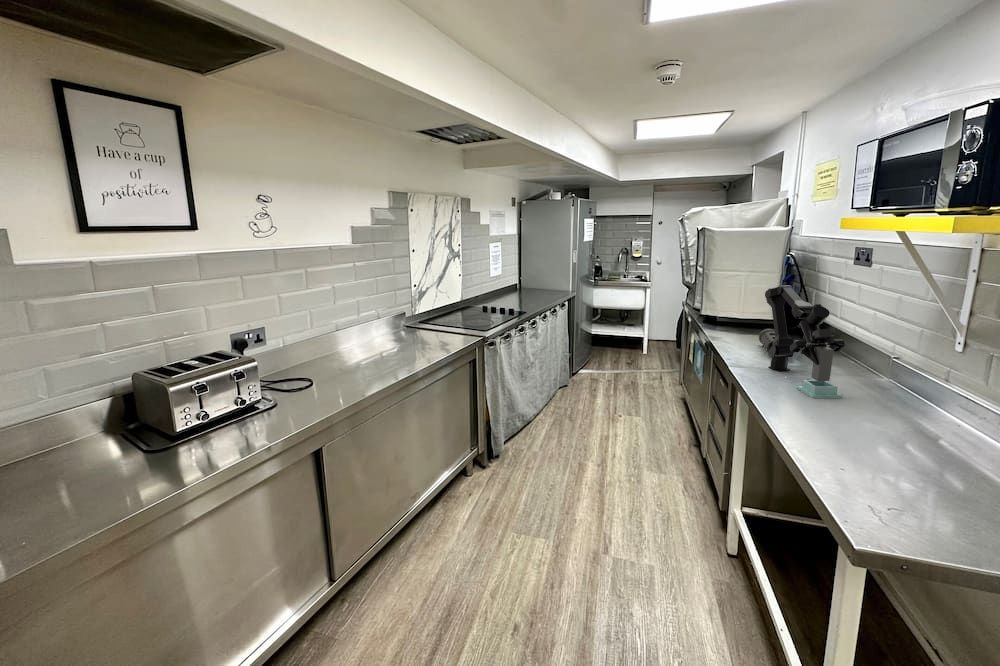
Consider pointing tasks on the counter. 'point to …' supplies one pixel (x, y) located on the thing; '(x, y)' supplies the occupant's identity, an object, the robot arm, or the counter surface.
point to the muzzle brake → (767, 338)
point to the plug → (822, 364)
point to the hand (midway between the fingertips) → (824, 364)
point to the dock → (819, 389)
